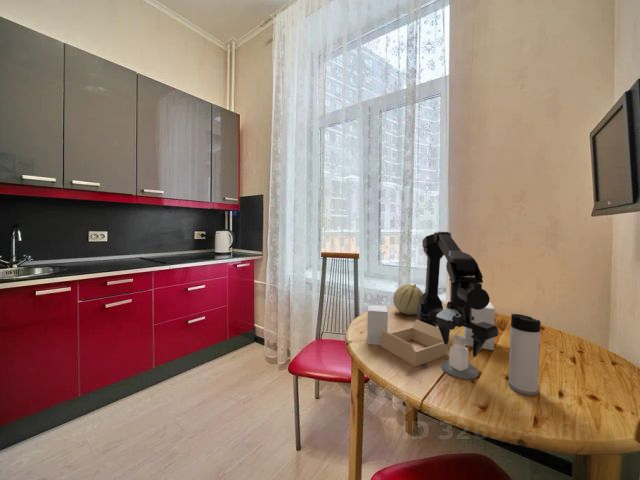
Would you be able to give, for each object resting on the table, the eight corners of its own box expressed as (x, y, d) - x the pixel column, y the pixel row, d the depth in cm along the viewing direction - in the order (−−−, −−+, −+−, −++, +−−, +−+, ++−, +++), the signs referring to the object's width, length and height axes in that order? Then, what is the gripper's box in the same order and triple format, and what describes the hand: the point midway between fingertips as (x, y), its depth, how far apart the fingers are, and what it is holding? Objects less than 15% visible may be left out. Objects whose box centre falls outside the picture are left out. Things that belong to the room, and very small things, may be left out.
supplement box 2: (490, 340, 101) (491, 301, 100) (494, 351, 93) (495, 308, 92) (463, 336, 105) (464, 299, 104) (464, 346, 97) (465, 305, 96)
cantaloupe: (388, 309, 139) (389, 281, 138) (415, 308, 140) (416, 280, 139) (400, 319, 124) (400, 287, 123) (430, 318, 126) (431, 286, 125)
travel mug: (501, 382, 75) (504, 312, 73) (523, 381, 75) (526, 311, 74) (520, 397, 68) (523, 320, 67) (544, 395, 69) (547, 319, 68)
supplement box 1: (387, 346, 97) (387, 311, 97) (367, 344, 99) (367, 310, 98) (386, 337, 105) (387, 305, 104) (367, 336, 106) (367, 304, 105)
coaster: (454, 358, 88) (454, 356, 88) (485, 373, 79) (485, 371, 79) (434, 366, 83) (434, 364, 83) (464, 383, 74) (464, 381, 74)
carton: (415, 337, 104) (415, 318, 104) (449, 353, 91) (450, 332, 91) (378, 348, 96) (378, 328, 95) (410, 367, 82) (411, 344, 82)
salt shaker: (460, 372, 79) (461, 341, 78) (448, 366, 82) (449, 336, 82) (468, 369, 80) (469, 338, 80) (456, 363, 84) (457, 333, 83)
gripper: (417, 295, 84) (416, 343, 85) (476, 312, 68) (474, 372, 69) (440, 291, 89) (439, 336, 90) (500, 305, 73) (498, 361, 74)
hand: (459, 350), depth 81 cm, fingers open, 9 cm apart
